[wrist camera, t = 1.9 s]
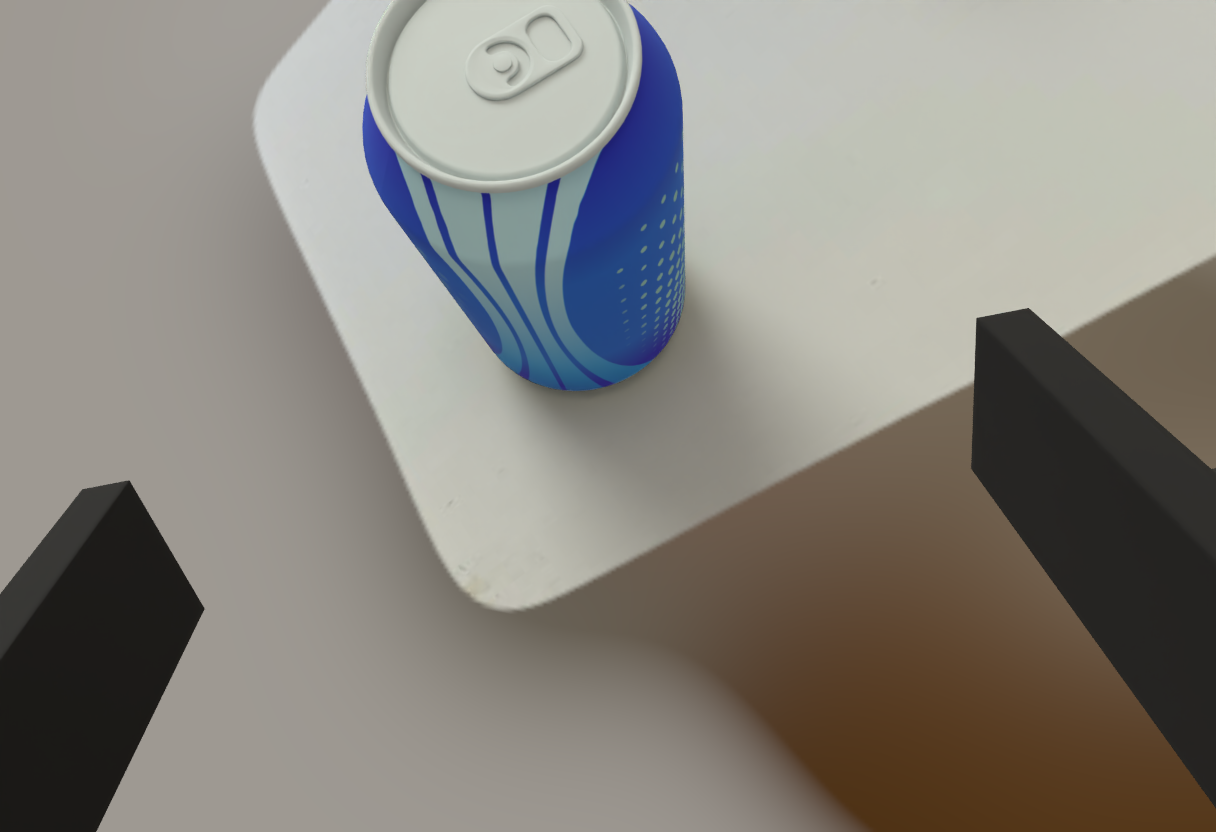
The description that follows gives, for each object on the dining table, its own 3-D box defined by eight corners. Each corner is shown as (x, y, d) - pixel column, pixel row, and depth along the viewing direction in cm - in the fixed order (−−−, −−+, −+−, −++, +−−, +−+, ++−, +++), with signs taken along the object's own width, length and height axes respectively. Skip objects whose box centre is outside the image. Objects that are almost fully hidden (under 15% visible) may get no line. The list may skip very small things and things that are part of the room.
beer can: (672, 410, 35) (658, 241, 19) (466, 387, 36) (293, 209, 20) (696, 214, 36) (700, -87, 21) (499, 198, 37) (363, -101, 22)
